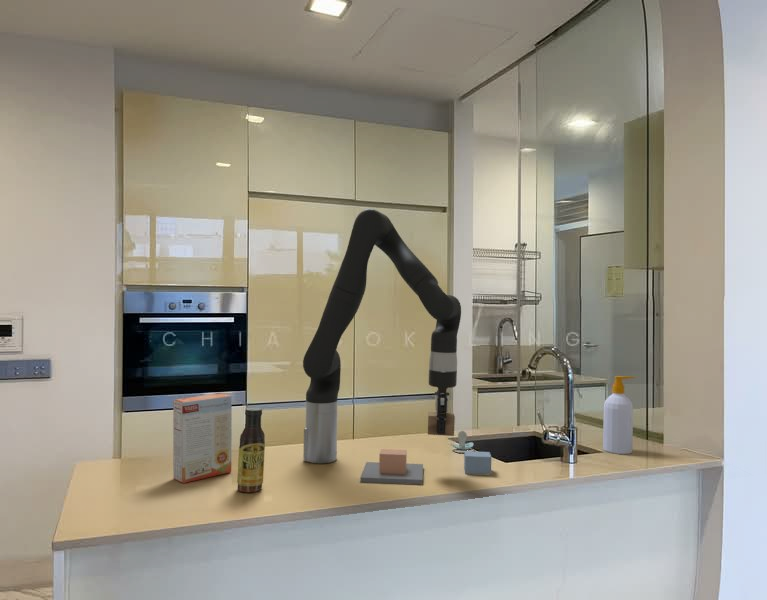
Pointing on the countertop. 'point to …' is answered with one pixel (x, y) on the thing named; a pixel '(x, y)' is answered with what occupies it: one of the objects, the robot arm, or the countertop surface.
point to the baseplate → (391, 477)
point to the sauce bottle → (251, 453)
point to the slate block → (477, 462)
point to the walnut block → (448, 425)
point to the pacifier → (463, 443)
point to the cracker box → (202, 437)
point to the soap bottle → (618, 420)
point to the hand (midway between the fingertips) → (440, 430)
